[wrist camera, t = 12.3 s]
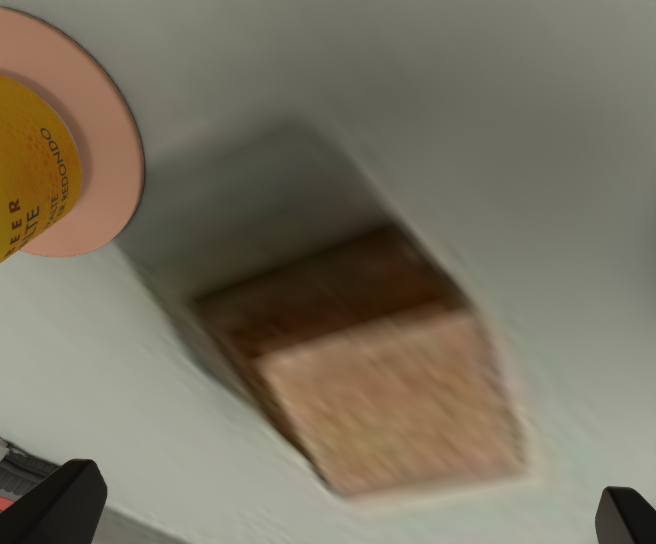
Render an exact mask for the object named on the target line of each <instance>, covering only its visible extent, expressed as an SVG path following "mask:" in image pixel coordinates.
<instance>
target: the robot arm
mask: <svg viewBox="0 0 656 544" xmlns="http://www.w3.org/2000/svg"><path fill="white" fill-rule="evenodd" d="M106 499H107V486H106V483H105V481H104V479H103V477H102V475H101V473H100V471H99V469H98V466H97V464H96V463H95V462H94V461H93V460H91V459H72V460H69V461H68V462H66V463H65V464H63V465H62V466H61V467H60V468H58V469H57V470H56V471H54V472H53V473H52V474H50V475H49V476H48V477H46V478H45V479H44V480H43V481H41V482H40V483H39V484H37V485H36V486H35V487H33V488H32V489H31V490H30V491H28V492H27V493H26V494H24V495H23V496H22V497H20V498H19V499H18V500H17V501H15V502H14V503H13V504H11V505H10V506H9V507H7V508H6V509H5V510H4V511H2V512H1V513H0V544H91V543H92V540H93V537H94V534H95V531H96V528H97V525H98V522H99V520H100V517H101V514H102V511H103V508H104V505H105V502H106ZM595 527H596V533H597V538H598V542H599V544H656V510H655V509H654V508H653V507H652V506H651V505H650V504H649V503H648V502H647V501H646V500H645V499H644V498H643V497H642V496H641V495H640V494H639V493H638V492H637V491H636V490H634V489H632V488H629V487H616V486H607V487H606V488H605V489H604V490H603V492H602V496H601V499H600V503H599V506H598V510H597V513H596V517H595Z"/></svg>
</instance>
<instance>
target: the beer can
mask: <svg viewBox="0 0 656 544" xmlns="http://www.w3.org/2000/svg"><path fill="white" fill-rule="evenodd" d="M81 186H82V167H81V162H80V157H79V152H78V148H77V145H76V142H75V140H74V137H73V135H72V133H71V131H70V130H69V128H68V126H67V125H66V123H65V122H64V120H63V119H62V118H61V117H60V115H59V114H58V113H57V112H56V111H55V110H54V109H53V108H52V107H51V106H50V105H49V104H48V103H47V102H45V101H44V100H43V99H42V98H40V97H39V96H38V95H37V94H35V93H34V92H33V91H31V90H30V89H28V88H27V87H25V86H24V85H22V84H20V83H18V82H17V81H15V80H13V79H11V78H8V77H5V76H3V75H0V263H1V262H3V261H4V260H5V259H7V258H8V257H9V256H11V255H12V254H14V253H15V252H16V251H18V250H19V249H21V248H22V247H23V246H25V245H26V244H27V243H29V242H30V241H32V240H33V239H34V238H36V237H37V236H38V235H40V234H41V233H43V232H44V231H45V230H47V229H48V228H49V227H51V226H52V225H54V224H55V223H56V222H58V221H59V220H61V219H62V218H63V217H65V216H66V215H67V214H68V213H69V212H70V211H71V210H72V209H73V207H74V206H75V204H76V202H77V200H78V198H79V195H80V192H81Z"/></svg>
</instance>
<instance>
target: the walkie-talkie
mask: <svg viewBox="0 0 656 544" xmlns="http://www.w3.org/2000/svg"><path fill="white" fill-rule="evenodd" d="M7 447H8V444H7V443H6V442H5V441H4V440H2V439H1V438H0V513H1V512H2V511H4V510H5V509H6V508H7V507H9V506H10V505H11V504H13V503H14V502H15V501H17V500H18V499H19V498H20V497H22V496H23V495H24V494H26V493H27V492H28V491H30V490H31V489H32V488H33V487H35V486H36V485H37V484H39V483H40V482H41V481H43V480H44V479H45V478H46V477H48V476H49V475H50V474H52V473H53V472H54V471H56V470H57V469H58V468H56V467H54V466H53V465H51V466H50V465H47V464H46V463H44V462H43V463H42V462H39V461H38V460H36V459H35V460H33V459H30V458H29V457H25V456H22V455H21V454H19V453H18V454H16V453H14V452H13V451H9V449H8V448H7Z"/></svg>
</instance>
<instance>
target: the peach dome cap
mask: <svg viewBox="0 0 656 544" xmlns="http://www.w3.org/2000/svg"><path fill="white" fill-rule="evenodd" d="M0 75H3V76H5V77H8V78H11V79H13V80H15V81H17V82H18V83H20V84H22V85H24V86H25V87H27V88H28V89H30V90H31V91H33V92H34V93H35V94H37V95H38V96H39V97H40V98H42V99H43V100H44V101H45V102H47V103H48V104H49V105H50V106H51V107H52V108H53V109H54V110H55V111H56V112H57V113H58V114H59V115H60V117H61V118H62V119H63V120H64V122H65V123H66V125H67V126H68V128H69V130H70V131H71V133H72V135H73V137H74V140H75V142H76V145H77V148H78V152H79V157H80V162H81V167H82V186H81V192H80V195H79V198H78V200H77V202H76V204H75V206H74V207H73V209H72V210H71V211H70V212H69V213H68V214H67V215H66V216H65V217H63V218H62V219H61V220H59V221H58V222H56V223H55V224H54V225H52V226H51V227H49V228H48V229H47V230H45V231H44V232H43V233H41V234H40V235H38V236H37V237H36V238H34V239H33V240H32V241H30V242H29V243H27V244H26V245H25V246H23V247H22V248H21V249H19V251H23V252H27V253H30V254H34V255H40V256H46V257H70V256H77V255H81V254H86V253H88V252H91V251H93V250H96V249H98V248H100V247H101V246H103V245H105V244H107V243H108V242H109V241H110V240H111V239H113V238H114V237H115V236H116V235H117V234H118V233H119V232H121V231H122V230H123V229H124V227H125V226H126V225H127V224H128V223H129V221H130V220H131V219H132V217H133V215H134V213H135V211H136V210H137V207H138V205H139V202H140V199H141V196H142V191H143V186H144V173H145V167H144V155H143V149H142V144H141V140H140V136H139V133H138V130H137V127H136V124H135V121H134V119H133V116H132V114H131V112H130V110H129V108H128V106H127V103H126V102H125V100H124V98H123V97H122V95H121V93H120V92H119V90H118V88H117V87H116V85H115V84H114V83H113V81H112V80H111V79H110V77H109V76H108V75H107V73H106V72H105V71H104V70H103V68H102V67H101V66H100V65H99V64H98V63H97V62H96V61H95V60H94V59H93V57H92V56H91V55H90V54H88V53H87V52H86V51H85V50H84V49H83V48H82V47H81V46H80V45H78V44H77V43H76V42H75V41H74V40H72V39H71V38H69V37H68V36H67V35H65V34H64V33H63V32H61V31H60V30H58V29H56V28H55V27H53V26H51V25H49V24H48V23H46V22H44V21H42V20H40V19H38V18H36V17H33V16H31V15H28V14H26V13H24V12H20V11H17V10H13V9H10V8H5V7H0Z"/></svg>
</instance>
